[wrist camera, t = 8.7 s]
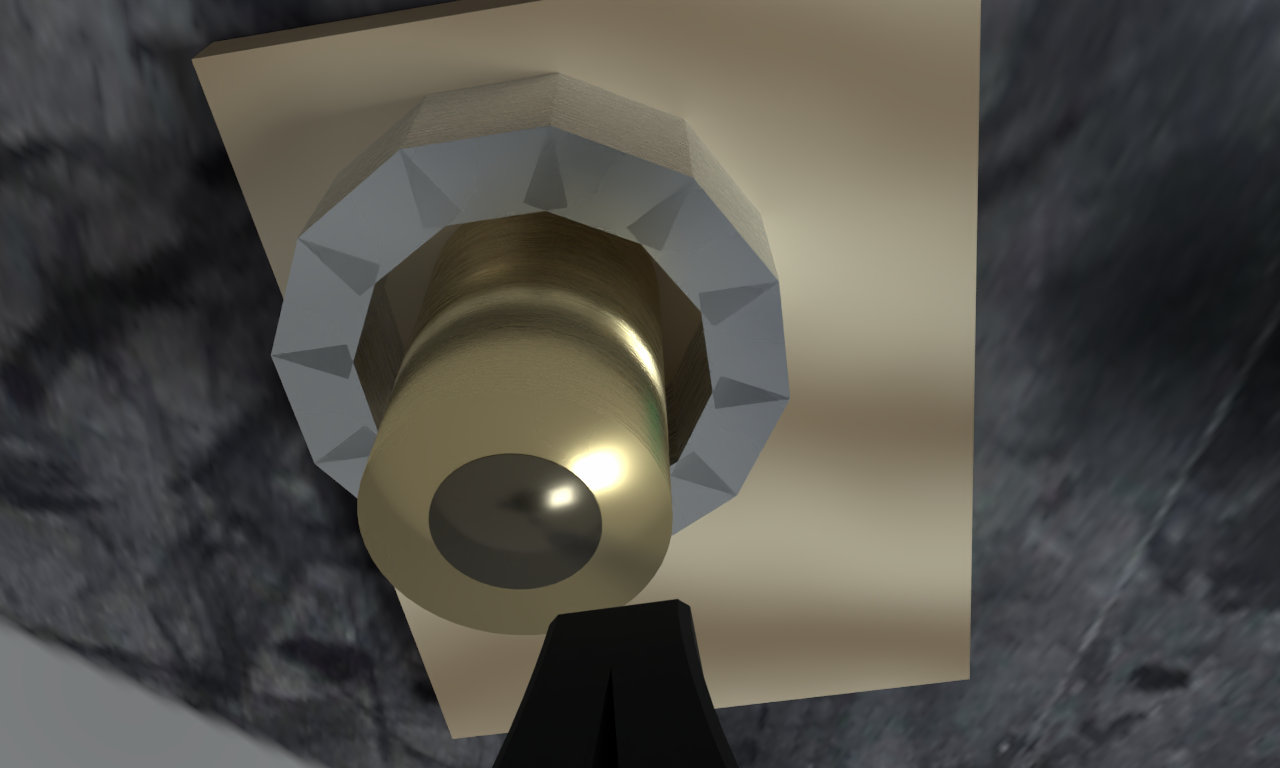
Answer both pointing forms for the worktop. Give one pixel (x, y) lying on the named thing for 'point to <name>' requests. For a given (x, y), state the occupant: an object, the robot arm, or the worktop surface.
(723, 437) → the bore collar
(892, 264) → the jig plate
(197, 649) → the worktop surface
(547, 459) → the brass sleeve
